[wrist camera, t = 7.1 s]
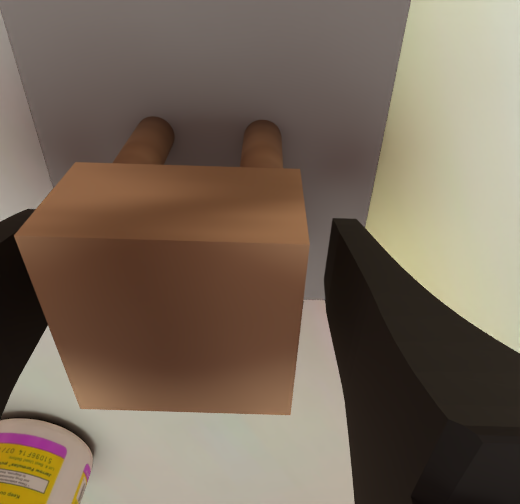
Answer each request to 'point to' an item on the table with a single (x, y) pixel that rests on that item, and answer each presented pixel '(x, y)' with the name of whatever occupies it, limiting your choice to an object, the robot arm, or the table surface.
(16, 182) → the table surface
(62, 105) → the pad
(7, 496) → the supplement bottle
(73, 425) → the table surface
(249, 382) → the tan box with knobs
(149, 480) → the table surface
